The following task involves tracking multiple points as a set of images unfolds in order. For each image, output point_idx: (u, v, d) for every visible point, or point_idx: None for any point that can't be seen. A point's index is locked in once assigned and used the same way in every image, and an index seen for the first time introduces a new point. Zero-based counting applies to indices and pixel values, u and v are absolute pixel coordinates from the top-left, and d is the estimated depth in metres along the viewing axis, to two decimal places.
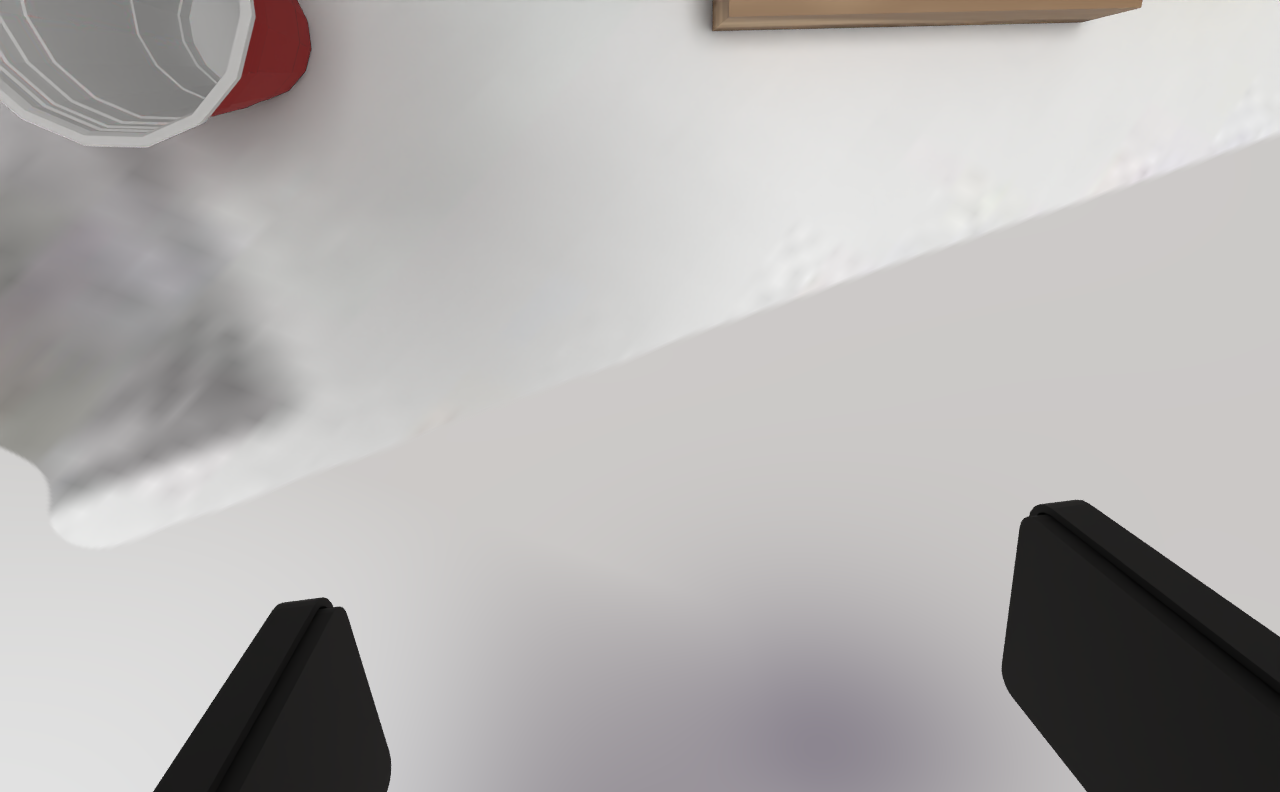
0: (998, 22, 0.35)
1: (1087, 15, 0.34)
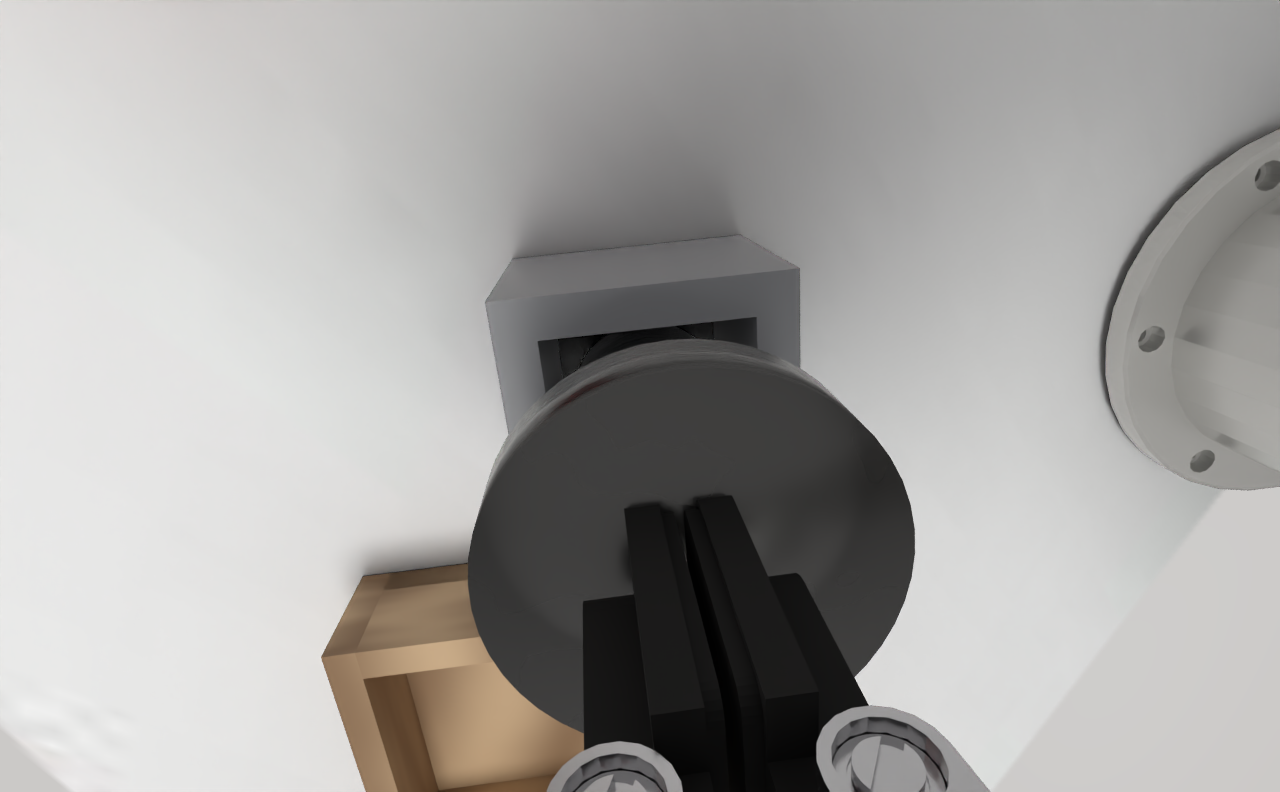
0: None
1: None
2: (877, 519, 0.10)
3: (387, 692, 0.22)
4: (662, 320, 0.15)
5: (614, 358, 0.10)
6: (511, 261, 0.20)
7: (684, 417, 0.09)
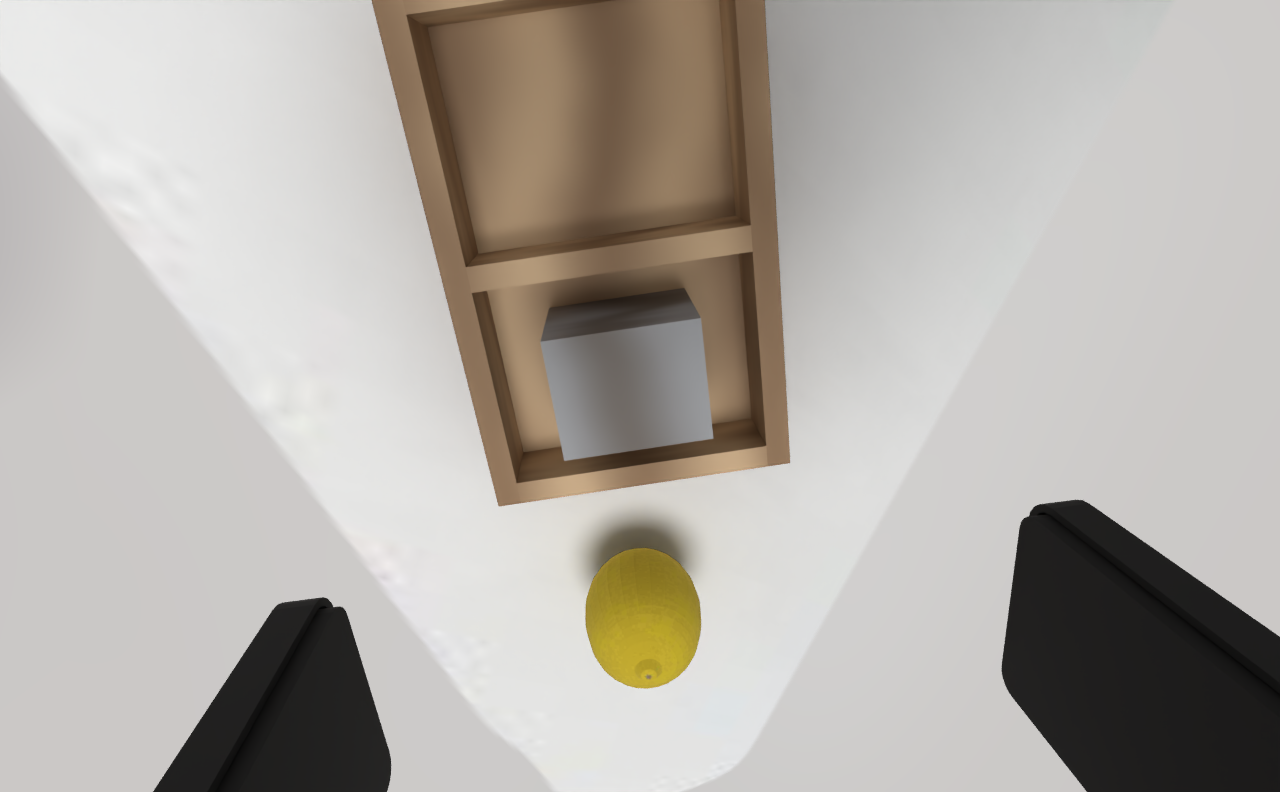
0: None
1: None
2: None
3: (428, 75, 0.24)
4: None
5: None
6: None
7: None
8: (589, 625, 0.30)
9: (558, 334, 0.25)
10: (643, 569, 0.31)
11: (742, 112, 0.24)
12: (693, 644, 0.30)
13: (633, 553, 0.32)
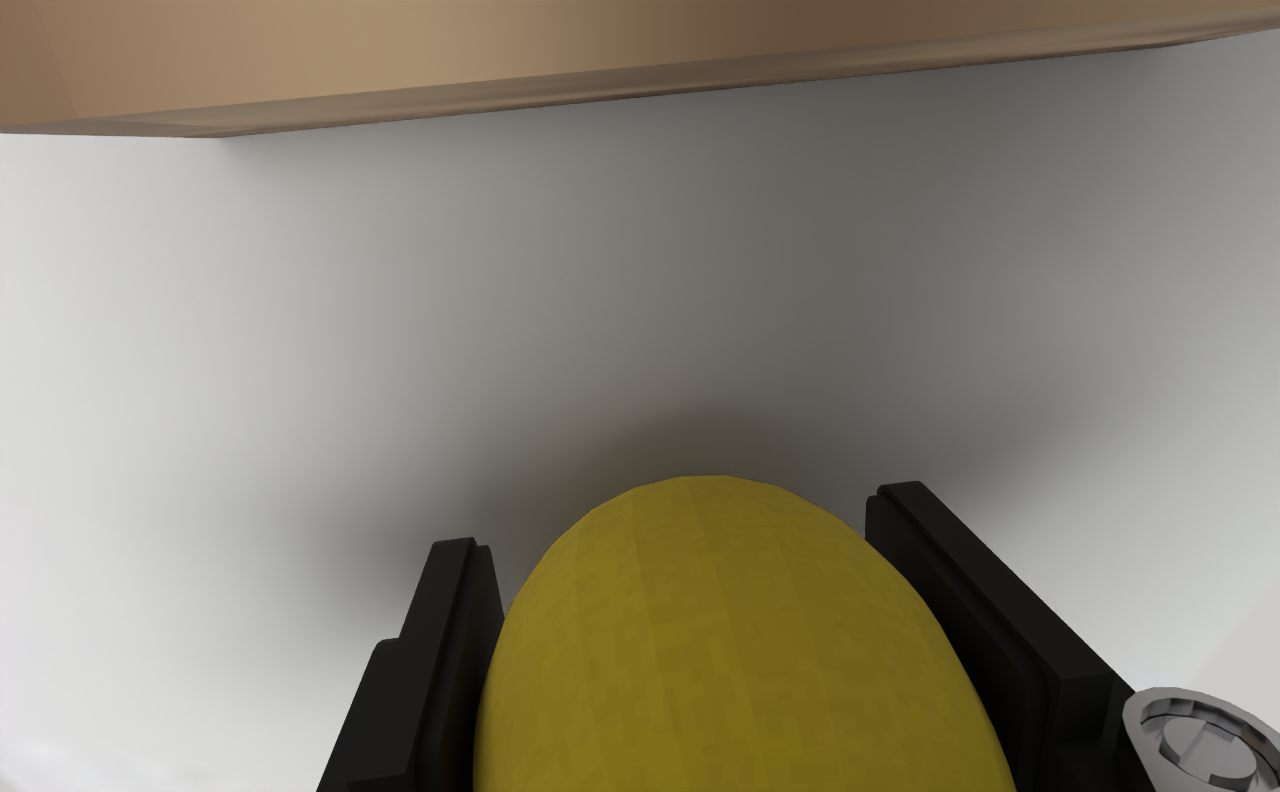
0: None
1: None
2: None
3: None
4: None
5: None
6: None
7: None
8: None
9: None
10: (749, 544, 0.06)
11: None
12: None
13: (687, 486, 0.08)
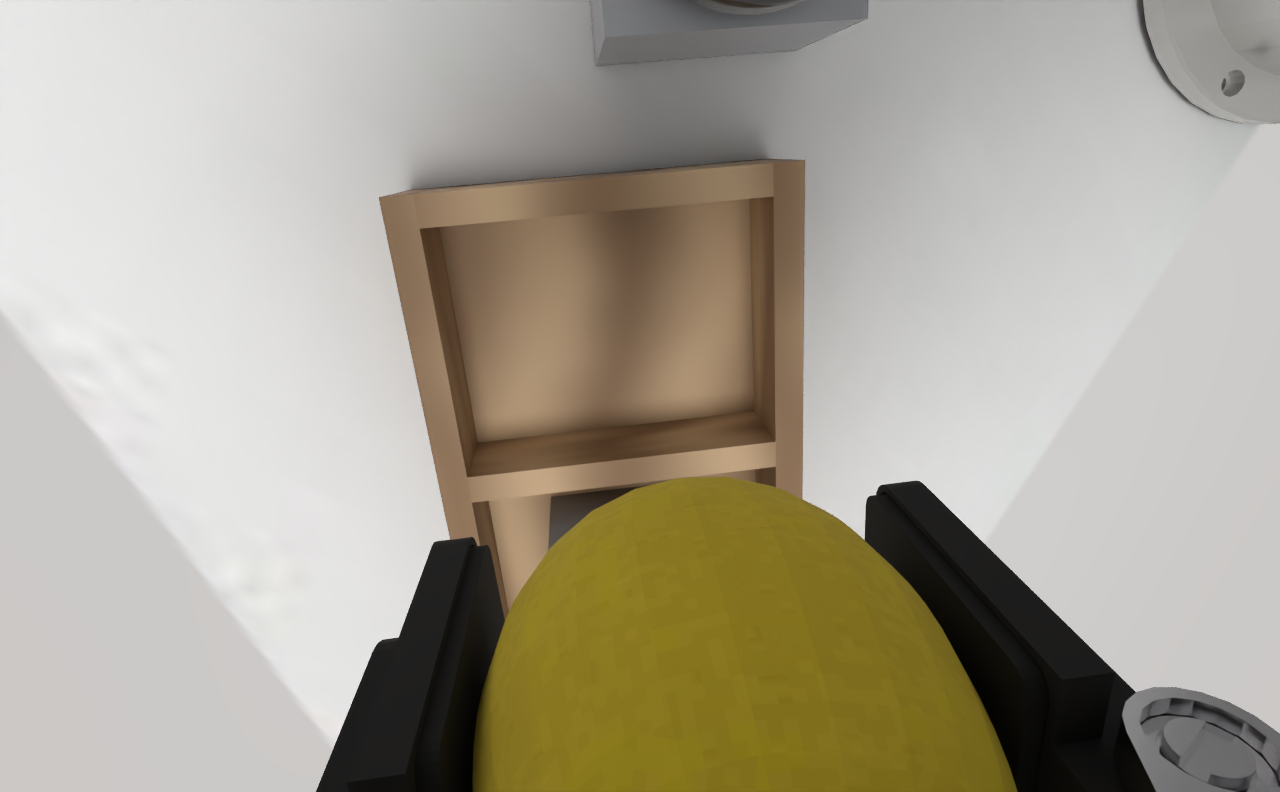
0: None
1: None
2: None
3: (437, 278, 0.22)
4: None
5: None
6: None
7: None
8: None
9: None
10: (750, 546, 0.06)
11: (773, 333, 0.23)
12: None
13: (687, 488, 0.08)
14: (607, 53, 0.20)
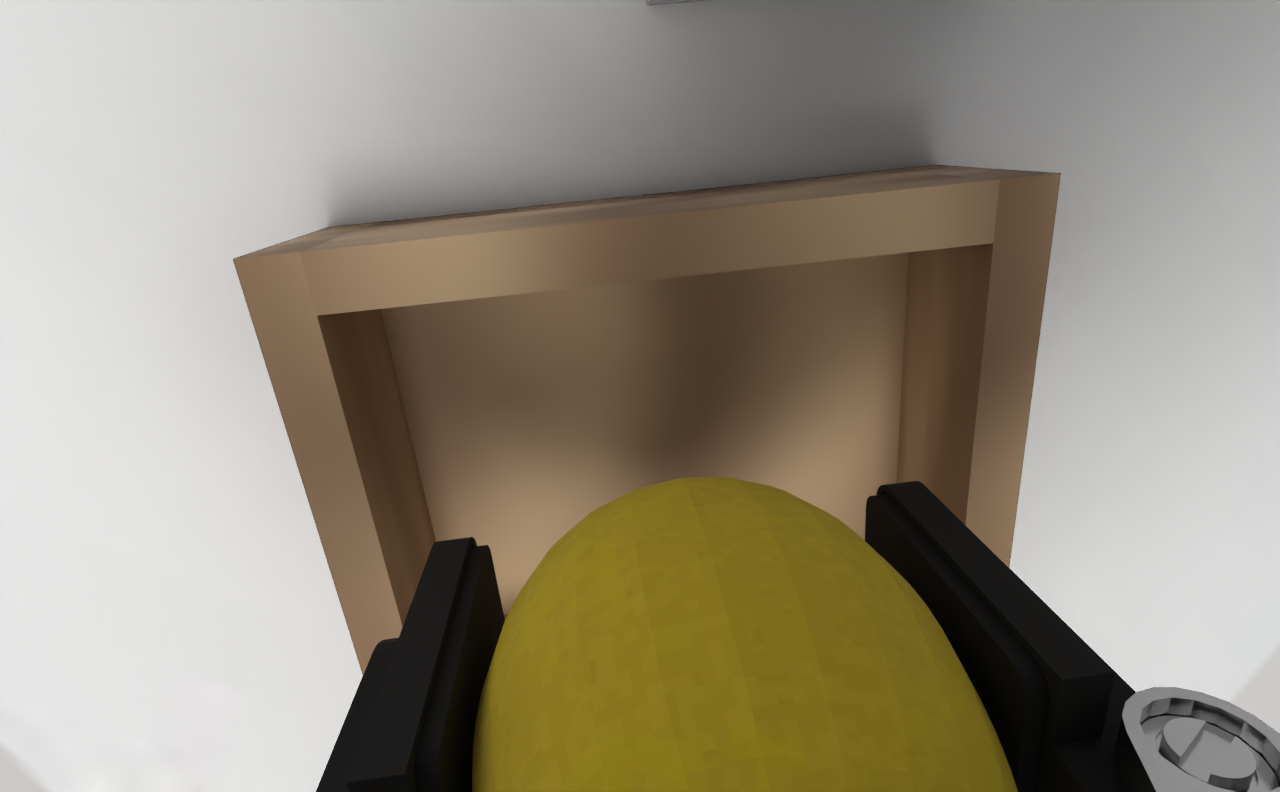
0: None
1: None
2: None
3: (367, 391, 0.12)
4: None
5: None
6: None
7: None
8: None
9: None
10: (750, 547, 0.06)
11: (966, 480, 0.13)
12: None
13: (687, 487, 0.08)
14: None
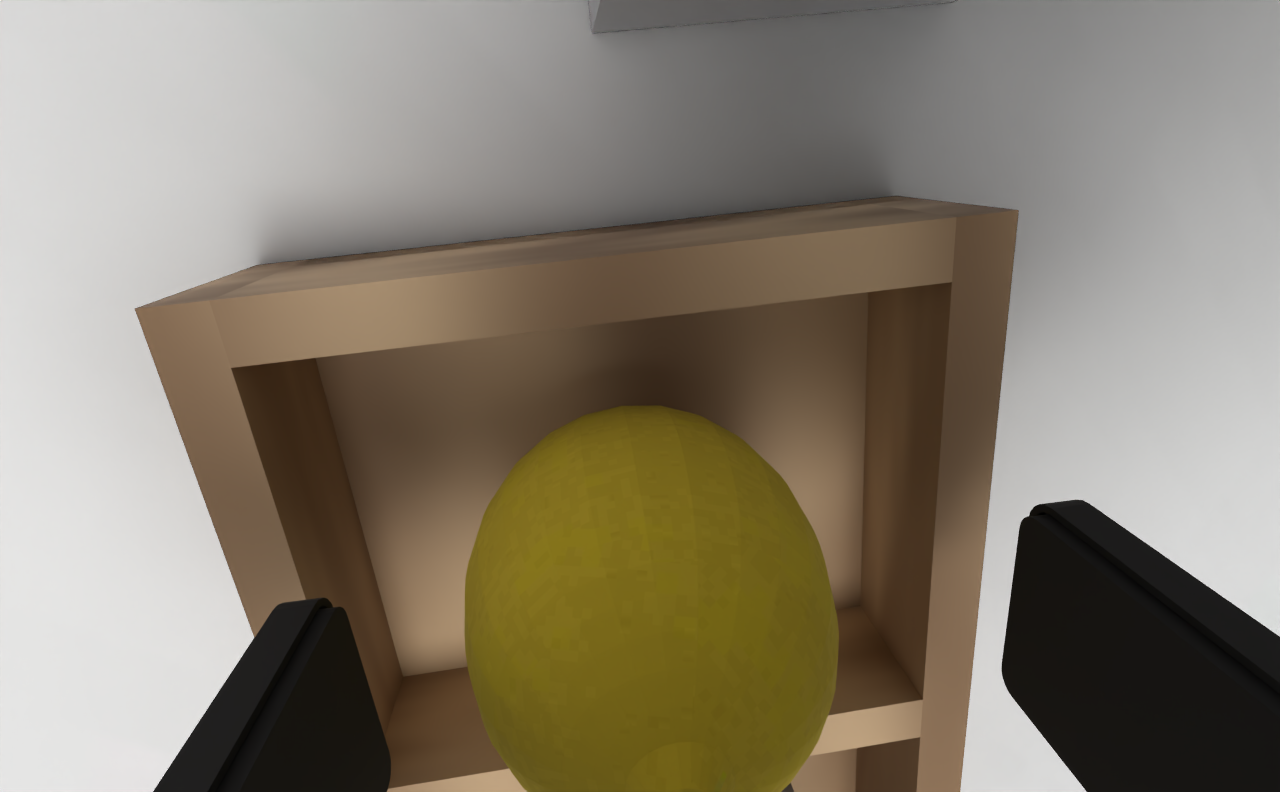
0: None
1: None
2: None
3: (295, 443, 0.11)
4: None
5: None
6: None
7: None
8: (469, 614, 0.09)
9: None
10: (657, 433, 0.09)
11: (931, 524, 0.12)
12: (832, 686, 0.08)
13: (622, 407, 0.11)
14: None
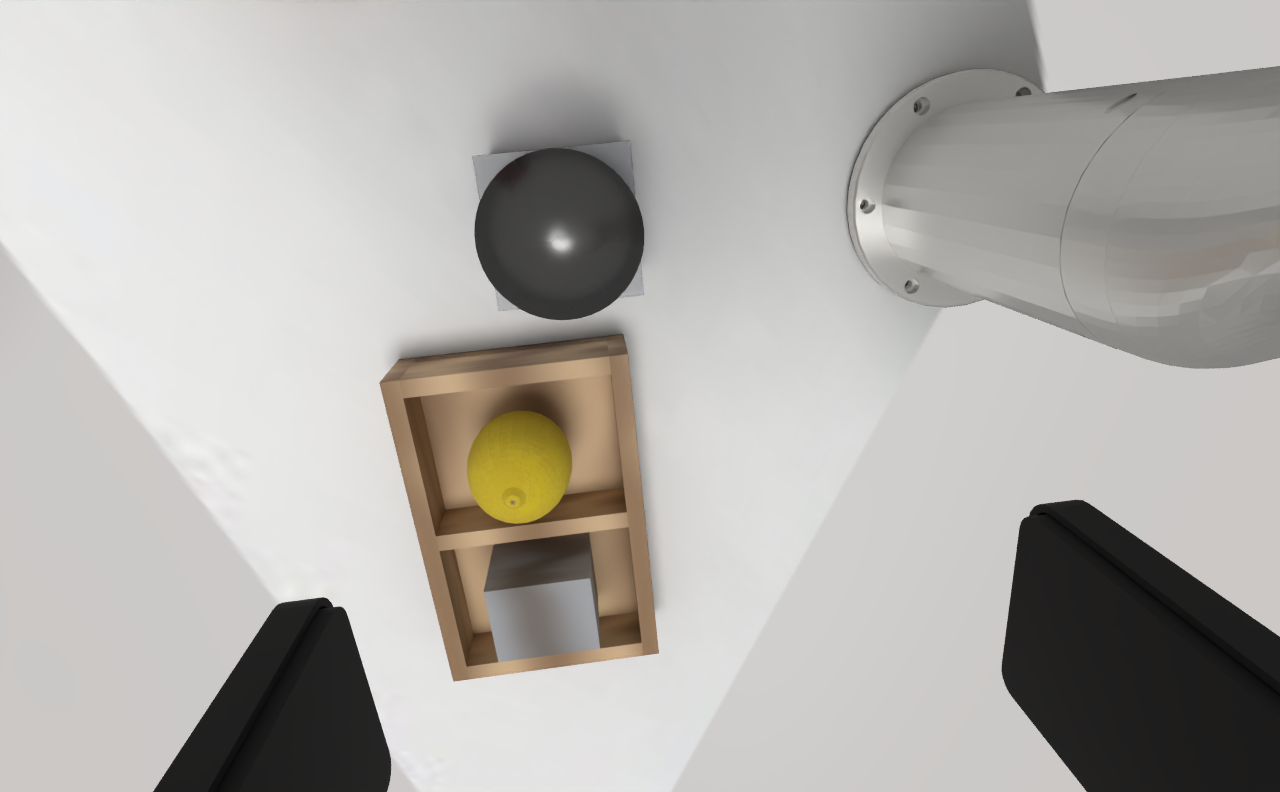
0: None
1: None
2: (627, 213, 0.28)
3: (415, 419, 0.37)
4: None
5: None
6: None
7: (551, 167, 0.27)
8: (468, 464, 0.34)
9: (496, 583, 0.38)
10: (521, 419, 0.35)
11: (619, 449, 0.37)
12: (558, 485, 0.34)
13: (516, 411, 0.36)
14: None
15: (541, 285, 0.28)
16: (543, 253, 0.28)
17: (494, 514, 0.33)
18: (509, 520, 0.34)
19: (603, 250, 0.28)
